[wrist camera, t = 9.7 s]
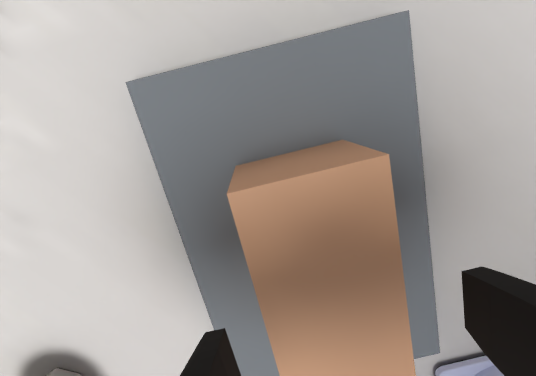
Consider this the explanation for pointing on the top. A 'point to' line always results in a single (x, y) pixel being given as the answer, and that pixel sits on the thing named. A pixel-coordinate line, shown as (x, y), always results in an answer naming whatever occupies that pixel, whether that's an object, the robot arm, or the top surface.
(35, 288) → the top surface
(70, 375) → the white flanged spindle
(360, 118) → the rubber mat
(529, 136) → the top surface
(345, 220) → the tan rectangular block
